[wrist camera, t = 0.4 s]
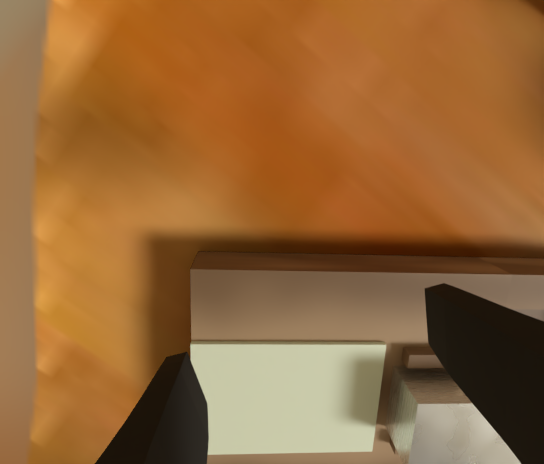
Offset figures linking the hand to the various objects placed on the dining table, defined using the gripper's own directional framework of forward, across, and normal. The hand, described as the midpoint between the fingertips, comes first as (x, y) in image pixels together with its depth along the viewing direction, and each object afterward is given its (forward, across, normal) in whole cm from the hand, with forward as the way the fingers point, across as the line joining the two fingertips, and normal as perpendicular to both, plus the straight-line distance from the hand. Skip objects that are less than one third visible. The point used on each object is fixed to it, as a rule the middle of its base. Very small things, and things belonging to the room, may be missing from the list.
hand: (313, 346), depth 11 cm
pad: (+7, +2, +9) cm, 11 cm away
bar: (+6, -10, +12) cm, 16 cm away
